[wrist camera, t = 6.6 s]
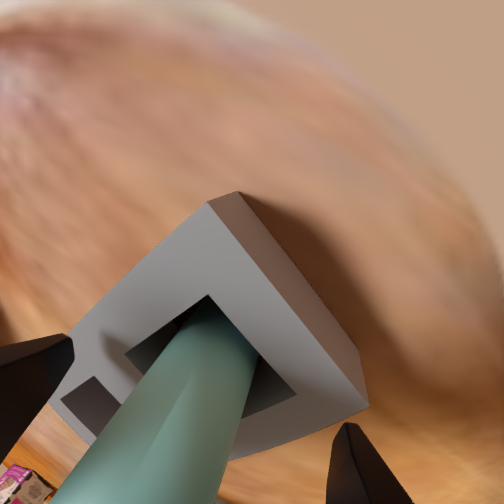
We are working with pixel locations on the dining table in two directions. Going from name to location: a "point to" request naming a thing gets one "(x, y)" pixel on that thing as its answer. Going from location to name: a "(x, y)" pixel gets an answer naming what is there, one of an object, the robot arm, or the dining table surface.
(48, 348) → the robot arm
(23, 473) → the candy bar box
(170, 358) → the peg
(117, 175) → the dining table surface
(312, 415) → the block
